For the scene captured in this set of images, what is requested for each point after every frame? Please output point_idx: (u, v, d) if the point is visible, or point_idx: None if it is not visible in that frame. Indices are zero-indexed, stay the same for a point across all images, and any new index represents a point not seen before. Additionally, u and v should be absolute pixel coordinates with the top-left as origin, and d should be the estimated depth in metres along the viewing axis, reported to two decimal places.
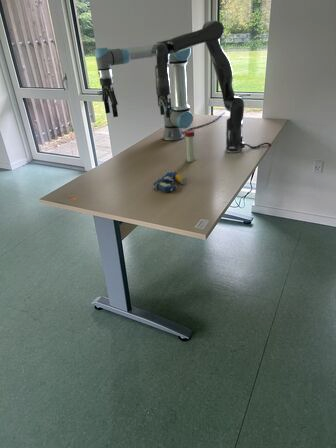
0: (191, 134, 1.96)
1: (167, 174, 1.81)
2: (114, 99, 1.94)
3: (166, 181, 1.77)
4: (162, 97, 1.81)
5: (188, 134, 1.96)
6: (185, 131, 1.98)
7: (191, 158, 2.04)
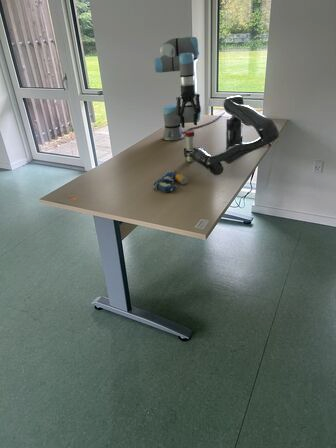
0: (191, 134, 1.96)
1: (167, 174, 1.81)
2: (177, 110, 1.88)
3: (166, 181, 1.77)
4: None
5: (188, 134, 1.96)
6: (185, 131, 1.98)
7: (191, 158, 2.04)
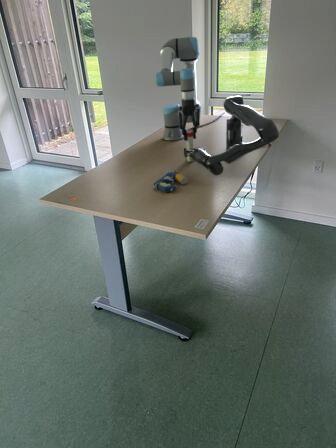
0: (191, 134, 1.96)
1: (167, 174, 1.81)
2: (179, 124, 1.93)
3: (166, 181, 1.77)
4: None
5: (188, 134, 1.96)
6: None
7: (191, 158, 2.04)
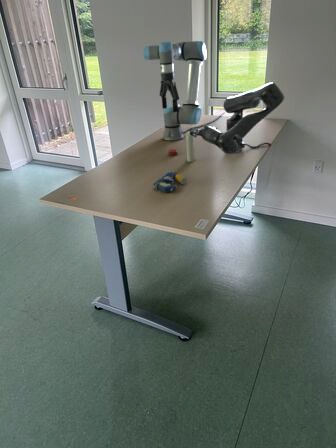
0: None
1: (167, 174, 1.81)
2: (176, 94, 1.92)
3: (166, 181, 1.77)
4: None
5: None
6: (176, 150, 2.17)
7: (191, 158, 2.04)
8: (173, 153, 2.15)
